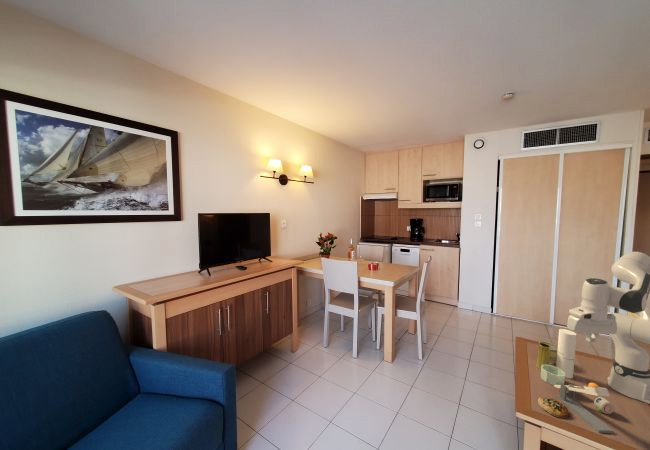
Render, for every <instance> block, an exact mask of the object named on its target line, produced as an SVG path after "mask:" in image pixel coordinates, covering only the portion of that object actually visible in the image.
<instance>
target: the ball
mask: <svg viewBox="0 0 650 450" xmlns="http://www.w3.org/2000/svg"><path fill="white" fill-rule="evenodd" d="M587 387H592V388H600V386H599V385H598V384H597V383H595V382H589V383H588V385H587Z"/></svg>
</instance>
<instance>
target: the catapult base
mask: <svg viewBox="0 0 650 450" xmlns="http://www.w3.org/2000/svg"><path fill="white" fill-rule="evenodd" d="M565 385H566V384H565V383H564V384H561V388H559V394H556V395H555V397H556V399H558V401H559V402H561V403H562V404H563V405H565V406H566V407H567V408H569V410H571V411H572V412H574V413H575V414H576V415H577V416H578V417H579V418H581V419H582V420H583V421H585V422H586V423H587V424H588V425H589V426H590V427H591V428H592V429H594V430H595V431H597V433H603V434H604V433H605V434H609V433H610V434H614V430H613V429H612V428H610V427H609V426H608V425H607V424H606V423H604V422H603V421H602V420H600V419H599V418H598V417H597V416H596V415H594V414H593V413H592V412H590V411H589V410H588V409H586V408H585V407H584V406H583V405H581V403H579V402H577V401H576V399H575V396H576V391H571V390H567V387H566V386H565ZM568 385H569V387H572V388H575V387H574V386H575V385H573V384H572V383H569V384H568Z"/></svg>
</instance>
